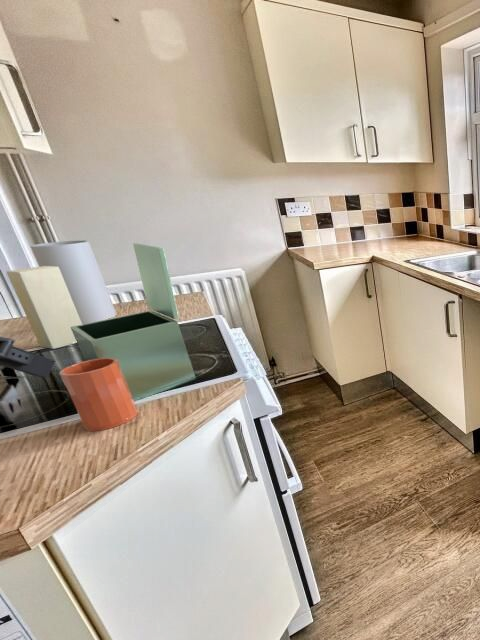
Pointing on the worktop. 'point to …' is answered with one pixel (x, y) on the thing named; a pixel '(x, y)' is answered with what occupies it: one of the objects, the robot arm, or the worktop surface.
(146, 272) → the box lid
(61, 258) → the cylinder vase
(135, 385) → the green open box
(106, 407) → the cup
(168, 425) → the worktop surface
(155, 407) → the worktop surface
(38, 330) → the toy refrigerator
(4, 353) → the robot arm
